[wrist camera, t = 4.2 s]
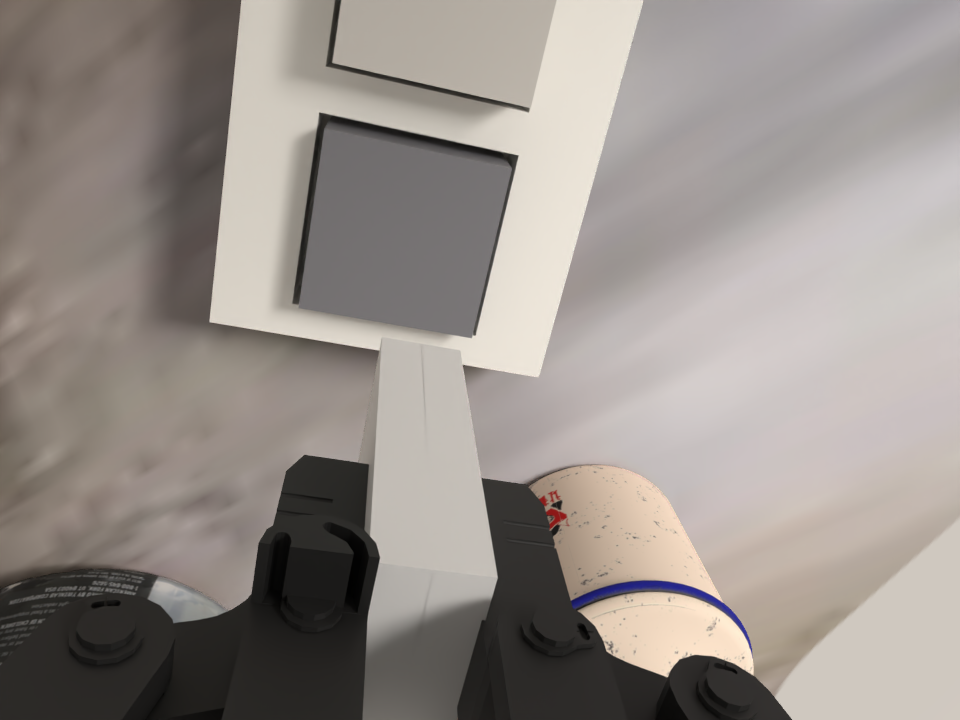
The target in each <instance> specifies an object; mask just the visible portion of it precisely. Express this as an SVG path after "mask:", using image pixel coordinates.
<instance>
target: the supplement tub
mask: <svg viewBox="0 0 960 720" xmlns="http://www.w3.org/2000/svg"><path fill="white" fill-rule="evenodd" d="M109 593H122V594H130V595H137V596H142V597H144V598H146V599H148V600H150V601H152V602H154V603H157V604H159V605H161V607H162V608H163V609H164V610H165V611H166V612H167V613H168V615H169V616H170V617H171V618H172V619H173V623H178V622H185V621H193V620H200V619H204V618H209V617H214V616H217V615H220V614H222V613H225V612H227V611H228V610H227V609H225V608H224V607H223V606H221V605H220V604H219V603H217V602H216V601H214V600H212V599H211V598H209V597H208V596H206V595H204V594H203V593H201V592H199V591H197V590H195V589H193V588H191V587H189V586H186V585H184V584H182V583H179V582H176V581H174V580H171V579H168V578H164V577H160V576H156V575H152V574H148V573H142V572H136V571H129V570H115V569H97V570H94V569H88V570H78V571H73V572H66V573H56V574H50V575H45V576H40V577H35V578H29V579H26V580H23V581H19V582H17V583H15V584H12V585H9V586H7V587H5V588H2V589H0V665H1V664H2V663H3V662H4V661H5V660H6V659H7V658H8V657H9V656H10V655H11V654H12V653H13V652H14V651H15V650H16V649H17V648H18V647H19V646H20V644H21V643H22V642H23V641H24V640H25V639H26V638H27V637H28V636H29V635H30V634H31V633H32V632H33V631H34V630H35V629H36V628H37V627H38V626H39V625H40V624H41V623H42V622H43V621H44V620H45V619H46V618H48V617H49V616H50V615H52V614H53V613H54V612H56V611H57V610H59V609H60V608H61V607H63V606H64V605H66V604H69V603H71V602H74V601H77V600H79V599H82V598H85V597H88V596H91V595H100V594H109Z"/></svg>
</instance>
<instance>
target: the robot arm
mask: <svg viewBox="0 0 960 720" xmlns="http://www.w3.org/2000/svg"><path fill="white" fill-rule="evenodd" d="M554 547H555V542H554V539H553V535H552V532H551V530H550V524H549V521H548V517H547V514H546V510H545V507H544V504H543V503H542V502H541V501H540V500H539V499H538V497H537V496H536V495H535V494H534V493H533V492H532V491H531V489H530V488H529V487H528V486H527V485H525V484H518V483H511V482H504V481H497V480H490V479H483V478H481V473H480V467H479V461H478V455H477V449H476V443H475V437H474V431H473V424H472V418H471V412H470V406H469V400H468V394H467V388H466V382H465V376H464V370H463V364H462V358H461V352H460V350H455V349H449V348H443V347H437V346H432V345H426V344H420V343H414V342H408V341H403V340H397V339H391V338H385V337H382V339H381V344H380V350H379V355H378V360H377V365H376V371H375V376H374V381H373V386H372V392H371V397H370V402H369V407H368V413H367V418H366V423H365V428H364V434H363V439H362V444H361V449H360V455H359V460H358V463H357V462H350V461H343V460H336V459H329V458H322V457H315V456H308V455H304V456H303V457H302V458H301V459H299V460H298V461H297V462H296V463H295V464H294V465H293V466H292V467H291V468H289V469H288V470H287V471H286V475H285V479H284V483H283V487H282V491H281V496H280V500H279V504H278V508H277V513H276V516H275V520H274V524H273V526H272V527H270V528H268V529H267V530H266V532H265V534H264V535H263V537H262V538H261V540H260V542H259V545H258V552H257V559H256V566H255V574H254V581H253V588H252V594H251V595H250V596H249V598H248V599H247V600H246V601H244V602H243V603H241V604H240V605H238V606H237V607H235V608H234V609H232V610H230V611H227V612H225V613H222V614H220V615H217V616H214V617H209V618H204V619H200V620H193V621H185V622H178V623H173V619H172V618H171V617H170V616H169V615H168V613H167V612H166V611H165V610H164V609H163V608H162V607H161V605H159V604H157V603H154V602H152V601H150V600H148V599H146V598H144V597H142V596H137V595H130V594H122V593H109V594H100V595H91V596H88V597H85V598H82V599H79V600H77V601H74V602H71V603H69V604H66V605H64V606H63V607H61V608H60V609H59V610H57V611H56V612H54V613H53V614H52V615H50V616H49V617H48V618H46V619H45V620H44V621H43V622H42V623H41V624H40V625H39V626H38V627H37V628H36V629H35V630H34V631H33V632H32V633H31V634H30V635H29V636H28V637H27V638H26V639H25V640H24V641H23V642H22V643H21V644H20V646H19V647H18V648H17V649H16V650H15V651H14V652H13V653H12V654H11V655H10V656H9V657H8V658H7V659H6V660H5V661H4V662H3V663H2V664H1V665H0V720H457V718H458V720H792V719H791V718H790V717H789V715H788V714H787V713H786V711H785V710H784V709H783V708H782V706H781V705H780V704H779V703H778V701H777V700H776V699H775V697H774V696H773V695H772V694H771V692H770V691H769V690H768V689H767V688H766V687H765V686H764V685H763V684H762V683H761V682H760V681H759V680H758V679H757V678H756V677H755V676H753V675H752V674H750V673H748V672H747V671H745V670H744V669H742V668H740V667H739V666H737V665H736V664H734V663H731V662H728V661H725V660H723V659H720V658H717V657H714V656H704V655H692V656H689V657H686V658H682V659H679V661H678V662H677V663H676V664H675V665H674V667H673V668H672V669H671V671H670V673H669V675H668V677H666V676H663V675H660V674H657V673H655V672H652V671H649V670H646V669H644V668H641V667H638V666H635V665H633V664H630V663H628V662H626V661H623V660H621V659H619V658H617V657H615V656H613V655H611V654H610V653H608V652H607V651H606V648H605V645H604V641H603V640H602V638H601V636H600V634H599V632H598V631H597V629H596V627H595V626H594V625H593V624H592V623H591V622H590V621H589V620H588V619H587V618H586V617H585V616H584V615H583V614H582V613H580V612H578V611H577V610H575V609H573V607H572V603H571V600H570V596H569V592H568V589H567V585H566V582H565V578H564V575H563V571H562V567H561V564H560V560H559V557H558V553H557V549H556V548H554Z"/></svg>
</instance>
